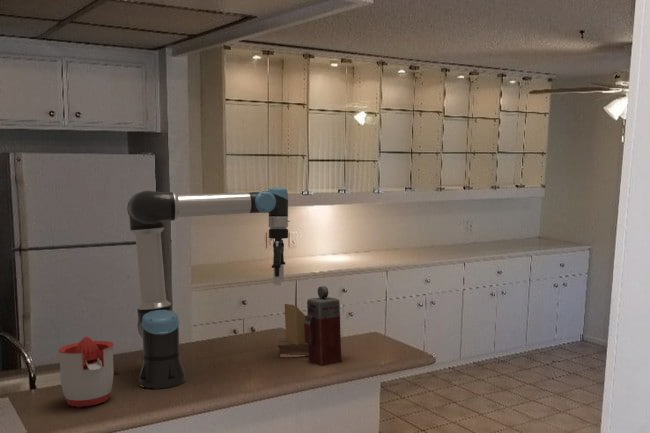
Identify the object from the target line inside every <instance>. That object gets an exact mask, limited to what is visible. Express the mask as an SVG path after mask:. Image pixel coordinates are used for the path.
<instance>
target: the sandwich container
mask: <svg viewBox="0 0 650 433" xmlns="http://www.w3.org/2000/svg"><path fill="white" fill-rule="evenodd" d="M305 318H306V314H305V313H304V312H303V311H302V310H301V309H300V308H299V307H298V306H297V305H294V304H290V303H284V319H285V320H284V322H285V323H284V324H285V325H284V326H285V327H284V328H285V338H286V342H289V343H292V344H296V345H299V344H305V330H304V322H305Z"/></svg>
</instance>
